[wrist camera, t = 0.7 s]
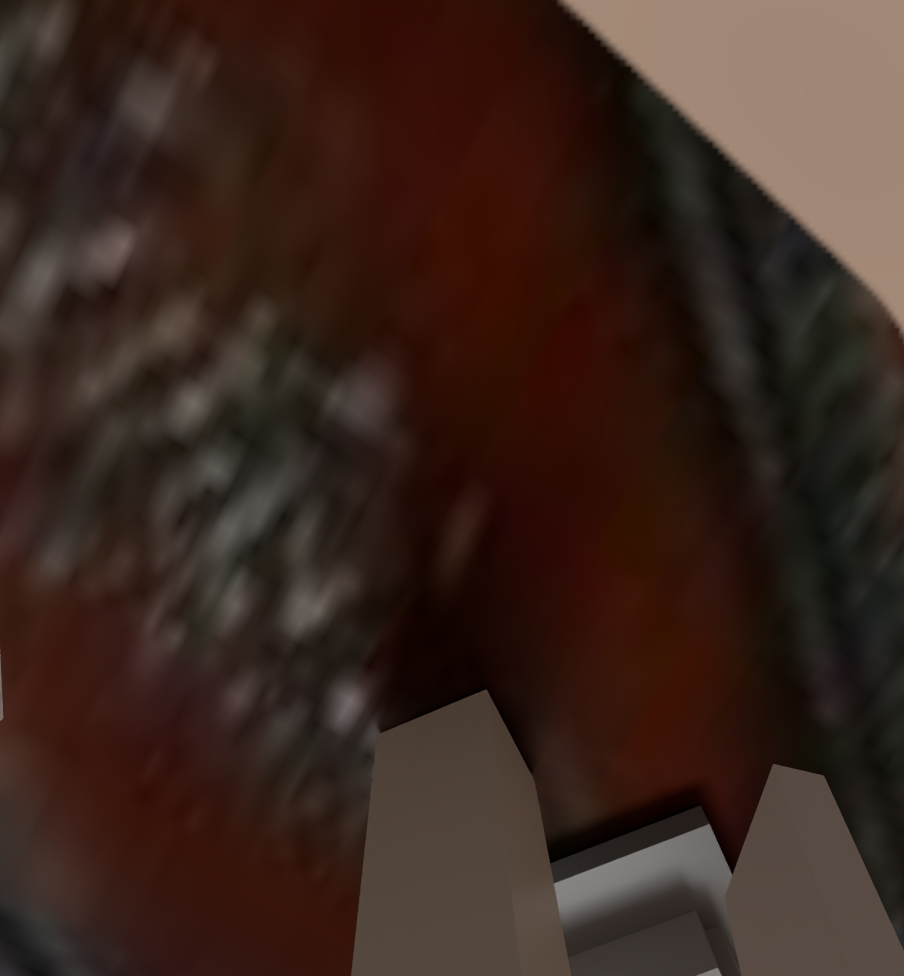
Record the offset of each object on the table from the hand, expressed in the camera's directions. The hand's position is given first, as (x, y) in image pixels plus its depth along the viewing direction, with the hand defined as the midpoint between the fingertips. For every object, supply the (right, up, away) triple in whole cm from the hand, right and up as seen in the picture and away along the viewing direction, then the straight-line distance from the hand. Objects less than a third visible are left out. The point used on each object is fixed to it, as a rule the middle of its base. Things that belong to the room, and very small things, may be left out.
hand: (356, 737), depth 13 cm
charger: (+2, -6, +16) cm, 18 cm away
